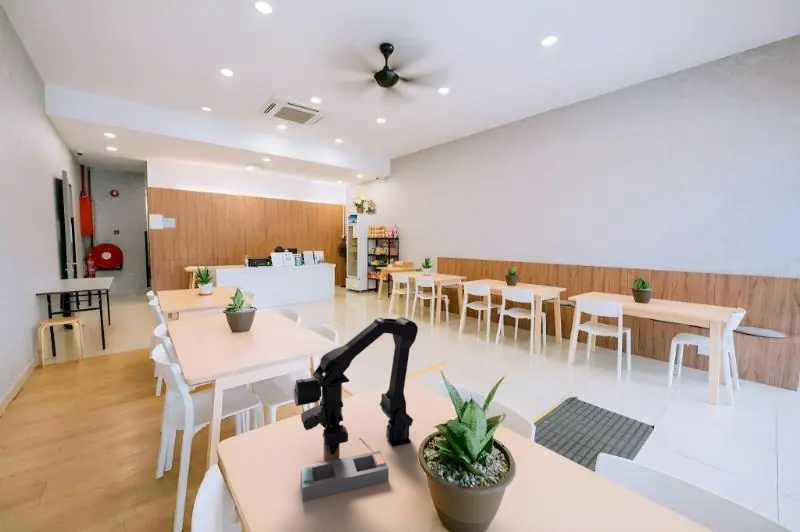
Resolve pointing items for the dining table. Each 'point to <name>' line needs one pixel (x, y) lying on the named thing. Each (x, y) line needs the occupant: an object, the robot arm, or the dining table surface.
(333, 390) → the robot arm
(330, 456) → the brown wooden block
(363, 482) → the socket strip
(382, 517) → the dining table surface
